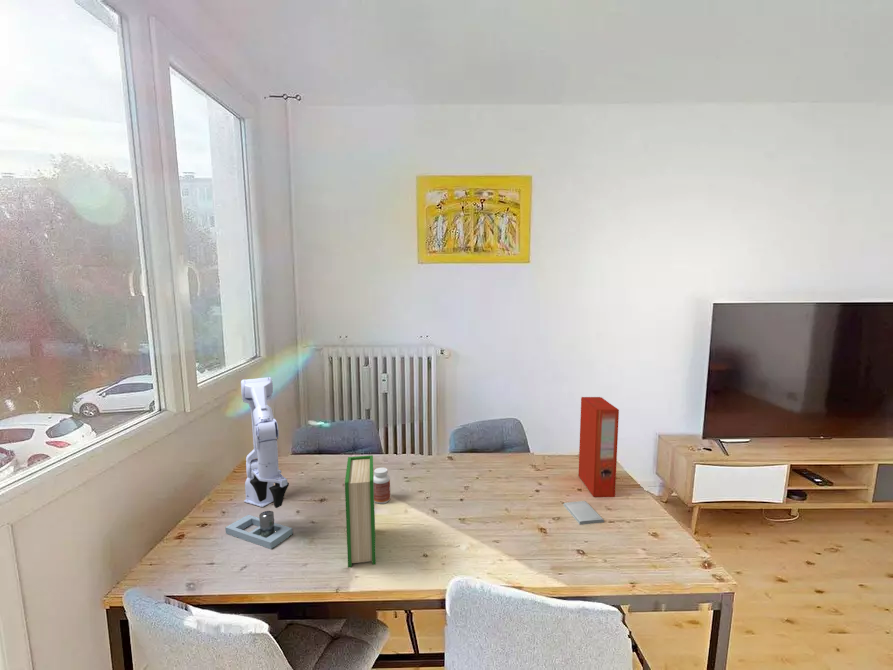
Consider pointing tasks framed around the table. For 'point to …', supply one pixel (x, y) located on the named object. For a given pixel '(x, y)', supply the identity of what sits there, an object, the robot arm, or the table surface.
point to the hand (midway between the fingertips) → (270, 503)
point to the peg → (267, 523)
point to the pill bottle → (381, 486)
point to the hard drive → (583, 512)
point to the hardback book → (360, 510)
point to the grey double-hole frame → (258, 532)
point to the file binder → (598, 446)
